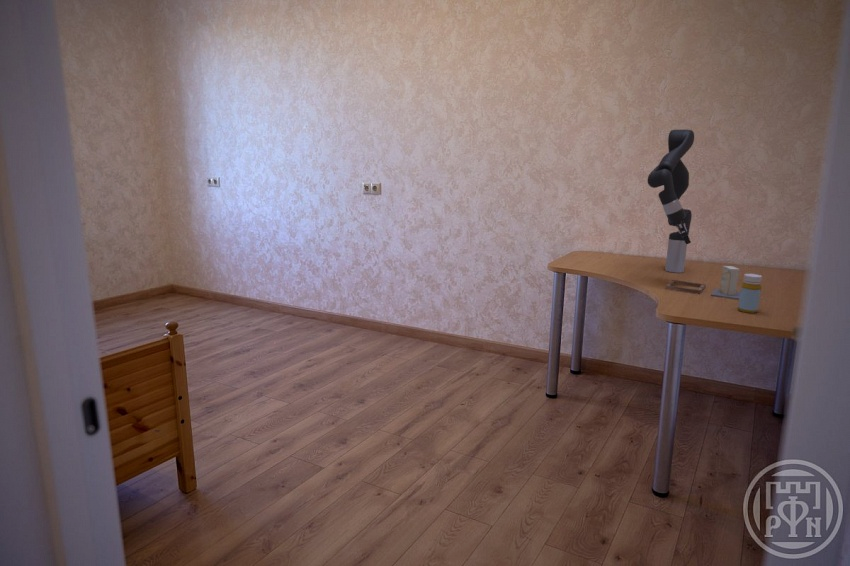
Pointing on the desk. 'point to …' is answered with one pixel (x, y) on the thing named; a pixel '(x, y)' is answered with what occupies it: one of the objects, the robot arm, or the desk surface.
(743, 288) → the bottle
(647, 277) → the desk surface
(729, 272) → the skincare box
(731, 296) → the charcoal mat
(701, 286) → the frame
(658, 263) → the desk surface
